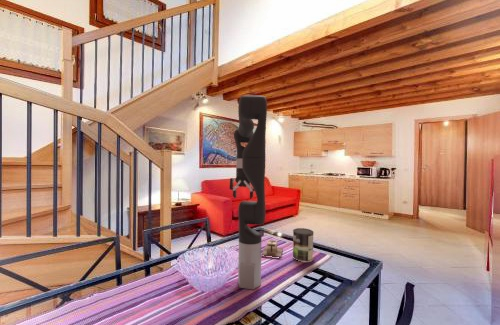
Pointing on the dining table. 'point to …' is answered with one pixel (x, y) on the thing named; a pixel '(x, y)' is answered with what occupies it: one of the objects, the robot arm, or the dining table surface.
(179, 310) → the dining table surface
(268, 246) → the letter cube
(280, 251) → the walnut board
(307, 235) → the coffee can
